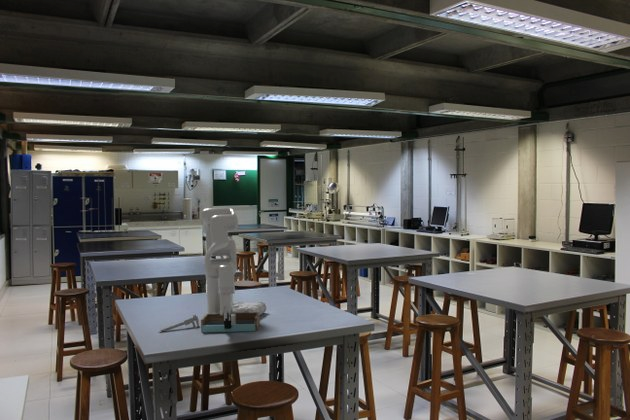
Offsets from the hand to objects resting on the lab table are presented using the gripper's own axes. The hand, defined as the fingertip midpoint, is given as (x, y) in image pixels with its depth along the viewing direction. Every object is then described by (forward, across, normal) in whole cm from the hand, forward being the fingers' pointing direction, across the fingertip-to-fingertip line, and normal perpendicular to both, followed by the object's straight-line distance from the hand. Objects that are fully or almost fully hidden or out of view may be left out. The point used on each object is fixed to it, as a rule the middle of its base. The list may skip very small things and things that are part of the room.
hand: (227, 328), depth 239 cm
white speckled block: (+2, -8, 0) cm, 8 cm away
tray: (+2, -8, 0) cm, 8 cm away
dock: (+2, -9, 0) cm, 10 cm away
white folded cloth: (+3, -33, +4) cm, 33 cm away
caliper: (+3, -10, -26) cm, 28 cm away
